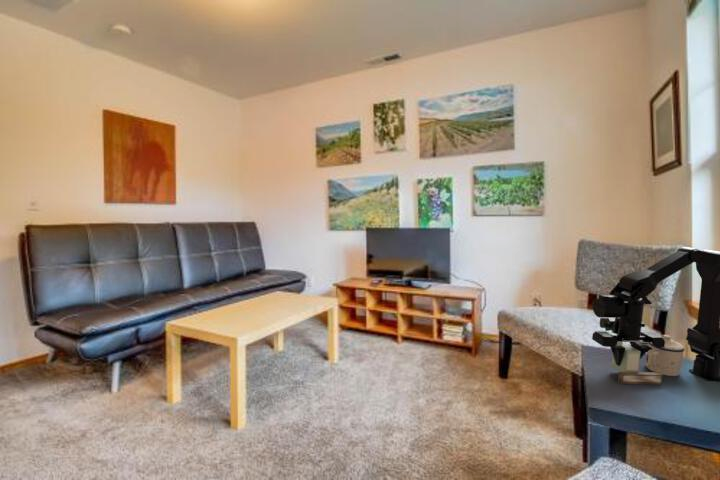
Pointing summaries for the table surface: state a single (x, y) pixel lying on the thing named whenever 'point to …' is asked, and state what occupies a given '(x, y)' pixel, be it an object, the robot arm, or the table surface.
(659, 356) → the teacup with lid
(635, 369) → the sage tin
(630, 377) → the wooden block
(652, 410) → the table surface
